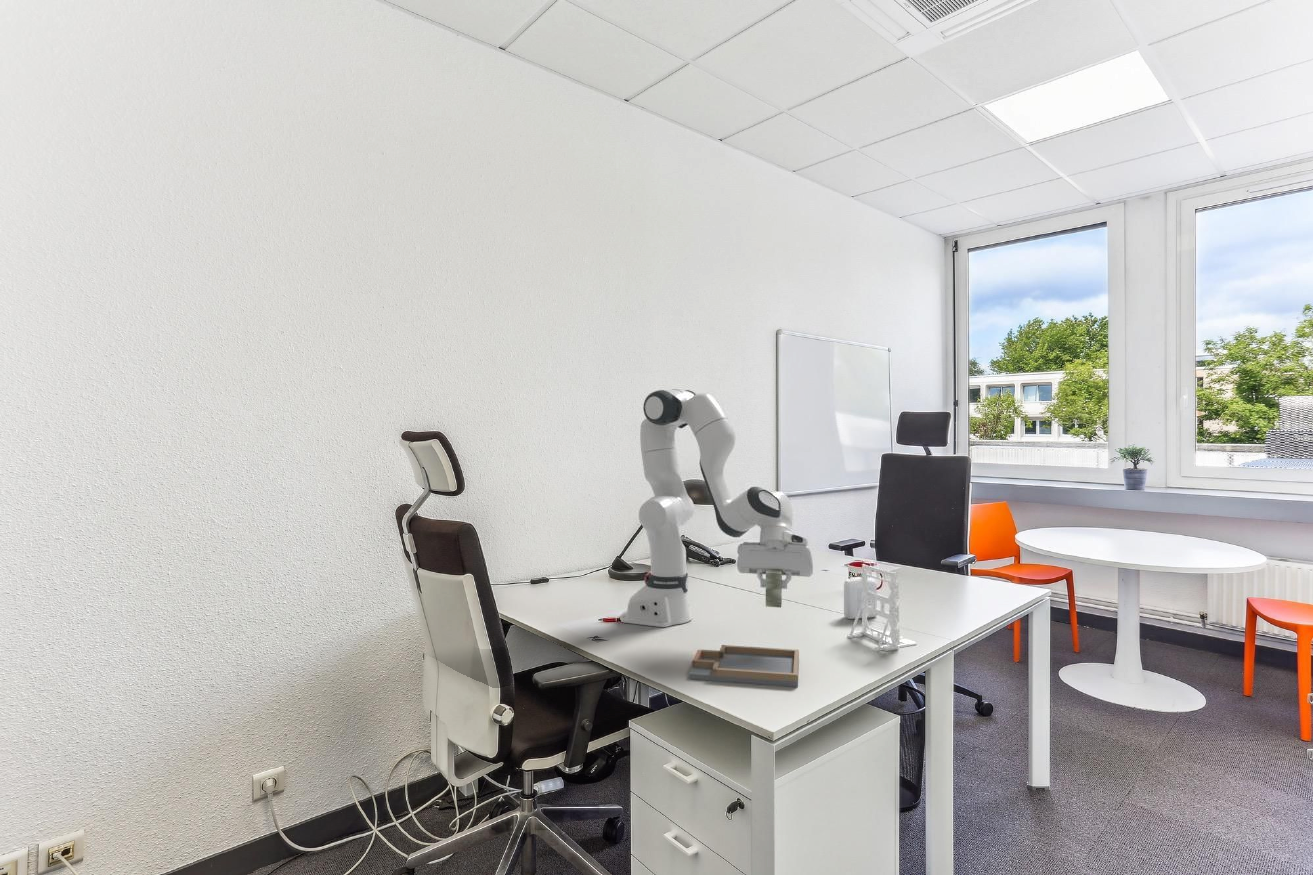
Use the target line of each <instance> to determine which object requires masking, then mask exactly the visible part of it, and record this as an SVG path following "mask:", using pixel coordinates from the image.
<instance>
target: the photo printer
mask: <svg viewBox="0 0 1313 875" xmlns="http://www.w3.org/2000/svg"><path fill="white" fill-rule="evenodd" d="M866 584H867V587H868V590H869V591H870V592H873V593H876V594H878V593H877V591H878V590H877V588H878V587H877V582H876V580H875V578H872V577H868V579H867V582H866ZM862 593H863V587H862V581H861V576H856V577H852V578H848V579H847V580H845V581H844V582H843V613H844V614H843V615H844V618H845V619H847V620H852V619H853V620H855V619H856V616H857V613H858V611H859V609H860V606H861V603H862V601H861V598H862ZM877 601H878V600H876V607H878V603H877ZM868 606H871V607H872V598H870V597H868ZM862 614H863V609H861V612H860V615H859V618H858V619H862ZM877 616H878V615H876V614H873V613H871V612H869V614H868V616H867V619H868V618H876V617H877Z"/></svg>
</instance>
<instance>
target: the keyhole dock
mask: <svg viewBox="0 0 1313 875" xmlns="http://www.w3.org/2000/svg"><path fill="white" fill-rule="evenodd" d="M691 662H692V667H691V670H689V671H690V672H689V674H688V679H689V680H698V679H699V681H700V680H701V681H715V682H726V683H737V684H738V683H741V684H752V685H753V684H754V685H766V686H767V685H768V686H780V687H782V686H783V687H792V688H793V687H795V688H798V687H799V669H800V668H799V667H800V650H799V649H795V648H794V649H793V648H792V649H791V648H774V647H760V646H759V647H757V646H745V645H744V646H743V645H740V646H739V645H725V644H722V645H721V646H720V649H719V650H715V649H714V650H713V649H697V651H696V652H695V655H694V656H693V658H692V661H691Z"/></svg>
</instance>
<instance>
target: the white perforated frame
mask: <svg viewBox="0 0 1313 875" xmlns="http://www.w3.org/2000/svg"><path fill="white" fill-rule="evenodd" d="M861 566H862V567H861V572H860V573H861V574H860V577H861V581H862V587H863V593H862V598H861V601H862V603H861V606H860V609H859V611H858V613H857V616H856V618H855V619H854V621H853V625H852V626H851V627H852V628H851V629H850V630H851V631H850V633H849V634H847V636H846V637H848V639H854V638H853V637H855V638H860V637H863V636H865V635H866V637H867V638H870V639H872V640H874V641H877V642H878V643H877V644H878V645H877V646H875V647H874V651H875V650H876V652H881V650H882V651H885V652H888V651H889V650H890V651H895V650H899V649H901V648H906V647H907V648H908V647H913V646H917V644H918V643H917V642H916V641H914V640H911V639H909V638H904V636H900V627H898V623H900V605H899V604H898V600H900V594H899V593H900V592H899V591H900V590H899V589H900V588H899V586H900V584H899V581H898V577H897V575H898V574H897V572H892V571H888V570H885V569H881V568H877V567H874V566H871V565H867V564H865V563H862V564H861ZM867 570H868V571H870V573H867ZM873 572H875V573H876V575H873ZM880 574H882V575H883V577H880ZM887 576H889V577H890V579H887ZM868 578H872V579H877V580H880V581H883V582H887V584H888V588H889V590H890V592H889V596H885V595H881V594H879V593H877V594H876V593H873V592H870V591H869V590H868V587H867V584H866V582H867V579H868ZM868 597H870V598H872V607H871V606H868ZM876 600H877V601H879V602H880V609H879V608H877V607H878V606H877V607H876ZM886 604H888V605H889V608H888V612H887V611H886V608H885V606H886ZM861 609H863V614H862V618H861V622H862V623H861V625H862V626H861V627H862V628H861V629H862V630H861V631H859V630H856V631H855V629H856V626H857V623H858V620H859V619H860V618H859V615H860V612H861ZM869 612H871V613H873V614H876V615H877V616H879V617H880V618H883V619H886V620H887V621H886V624H885V625H884V628H883V629H881V630H878V629H875V628H873V627H871V626H870V624H869V620H868V618H867V616H868V614H869ZM889 625H890V626H889ZM888 626H889V627H890V631H889V630H888ZM868 630H870V631H868ZM862 634H863V635H862ZM876 635H877V636H876ZM901 643H902V644H901ZM890 651H889V652H890Z"/></svg>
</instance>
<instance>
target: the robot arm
mask: <svg viewBox="0 0 1313 875" xmlns="http://www.w3.org/2000/svg"><path fill="white" fill-rule="evenodd" d="M643 401H644V402H643V407H642V408H643V414H644V416H645V418H644V419H643V420H642V422H641V423H640V436H639V437H640V439H639V440H640V452H641V458H642V459H641V461H642V465H643V474H644V477H645V480H646V481H647V482H648V483H649V485H650V487H651V490H652V492H653V494H654V496H652V497H651V498H649V499H647V500H646V501H644V503H642V504H641V506H640V507H639V510H638V520H639V523H640V524H641V526H642V527H643V528H644V529H645V533H646V536H647V540H648V544H649V550H650V570H649V571H648V572H647V573H646V574H645V576H644V578H643V579H644V586H642V587H641V588H640V589H638V591H636V592H635V593H633V595H631V597H629V600H628V603H627V609H626V610H624V611H623V612H622V613H621V615H620V617H619V618H620V619H619V620H621V621H620V622H621V623H626V624H633V625H642V626H650V627H659V628H668V627H670V626H675V625H682V624H685V623H688V622H690V621H692V620H693V615H692V613H691V612H692V611H691V608H690V603H689V596H688V592H689V591H688V590H689V577H688V576H689V575H688V572H687V550H686V547H685V544H683V541H682V537H681V533H680V526H683V525H685V524H687V522H689V520H690V519H691V518H692V517H693V515H694V512H695V504H694V501H693V500H692V498H691V497H690V496H689V494H688V492H687V489H686V487H685V484H684V480H683V479H682V475H681V470H680V465H679V458H678V453H677V445H676V440H675V439H676V438H675V432H676V430H677V429H678V428H679V429H683V428H685V427H686V426H689V428H690V430H691V431H692V434H693V436H694V437H695V439H696V443H697V445H698V450H699V468H700V471H701V474H702V478H703V481H704V484H705V485H706V488H707V492H708V494H709V497H710V500H711V503H712V506H713V509H714V513H715V520H716V523H717V526H718V528H719V529H720V531H722V533H724V534H725V535H727V536H728V537H732V538H740V537H742V536H743V535H745V534H746V533H747V532H748V531H750V530H751V529H752V528H754V527H756V526H758V527H760V528H759V529H760V532H759V542H756V541H755V542H749V541H743V543H740V544H738V546H737V549H736V550H737V554H738V555H737V561H736V568H737V571H738V573H740V574H749V575H750V574H751V575H756V577H757V579H758V580H759V582H760V588H764V589H766V578H763V575H766V570H767V569H773V570H782V576H785V577H786V578H784V579H782V581H781V589H782V590H786V589H788V584H789V583H790V581H792V578H793V577H807V578H808V577H809V578H810V577H811V576H812V575H813V574H814V566H813V565H814V564H813V556H812V551H811V549H810V548H809V543H808V542H809V541H808V538H807V537H806V536H805V537H804V536H802V535H799V534H795V533H793V532H792V530H791V529H792V527H793V509H792V508H793V507H792V504H791V501H790V499H789V497H788V495H786V494H785V493H784V492H781V491H777V490H775V491H773V490H772V491H768V490H766V489H765V488H762V487H760V486H752V487H750V488H748V489H747V490H745V491H743V492H742V493H740V494H739V495H737V497H735V498H733V499H732V497H731V494H730V491H729V488H728V486H727V482H726V481H725V477H724V468H725V465H726V463H727V460H728V458H729V456H730V455H731V453H732V451H733V449H734V446H735V443H736V433H735V430H734V428H733V425H732V423H731V422H730V420H729V418H728V416H727V415H726V412H724V410H723V408H722V407H721V406H720V404H719V403H718V402H717V401H716V399H715V397H713V396H712V395H711V394H709V393H707V392H706V393H705V392H701V393H696V392H694V391H691V390H689V389H688V390H687V389H685V390H684V389H681V388H680V389H678V388H671V389H659V390H655V391H652V392H651V393H649V394H648V395H647V396H646V397H645V399H644V400H643Z"/></svg>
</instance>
